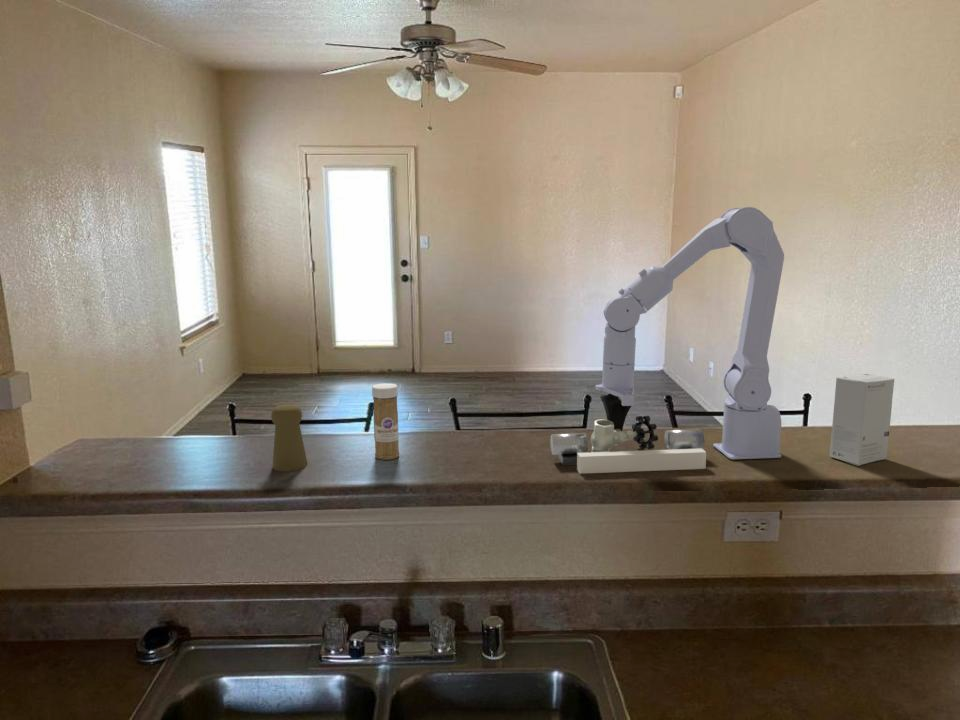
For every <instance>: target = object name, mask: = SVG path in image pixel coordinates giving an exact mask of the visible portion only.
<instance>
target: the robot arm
mask: <svg viewBox="0 0 960 720" xmlns="http://www.w3.org/2000/svg"><path fill="white" fill-rule="evenodd" d="M731 246H733V247H734V248H736V249H738V250H739V251H740V252H741V253H742V255H744V257H745V258H746V259H747V260H748V261H749V262H750V263H751V266H750V271H749V278H748V283H747V289H746V295H745V301H744V307H743V313H742V320H741V327H740V332H739V338H738V344H737V350H736V351H735V353H734V355H733V356H732V360H731V365H730V367H729V369H728V370H727V371H726V372H725V374H724V376H723V387H724V390H725V391H726V392H727V394H728V395H727V396H726V399H724V401H723V402H724V403H723V404H724V405H723V421H722V422H723V423H722V435H721V436H722V437H721V439H722V440H721V442H720V443H719V442H718V443H716V442H715V443H713V444H712V445H713V447H714V448H715V449H716V450H717V451H719V452H721V453H722V454H723V455H724V456H725V457H727V458H728V459H730V460H748V459H749V460H753V459H754V460H757V459H758V460H759V459H781V458H782V454H781V453H780V447H781V446H780V445H781V436H782V415H781V413H780V410H779V408H777V407H776V406H775V405H773V404H768V402H769V401H770V398H771V396H772V388H771V384H770V382H769V381H770V380H769V375H770V374H769V373H770V366H769V362H768V360H769V359H768V352H769V346H770V341H771V336H772V329H773V323H774V319H775V318H774V317H775V312H776V307H777V306H776V305H777V300H778V297H779V296H778V295H779V290H780V283H781V278H782V274H783V273H782V272H783V267H784V262H785V252H784V250H783V247H782V246H781V244H780V241H779V239H778V237H777V235H776V232H775V230H774V223H773V221H772V220H771V219H770V218H769V217H768V216H767V215H766V214H765V213H764V212H763V211H761V210H760V209H758V208H756V207H753V206H746V207H742V208H741V207H735V208H734V207H733V208H730V209H728V210H726V211H725V212H724V213H723V214H722V215H721V216H720V217H717V218H716V219H714V220H713V221H711V222H709V223H708V224H706V225H705V226H704V227H702V229H700V231H698V232H696V234H695V235H694V236H693V237H692V238H691V239H690V240H689V241H687V242H686V243H685V244H684V246H681V248H680V249H679V250H678V251H677V252H676V253H675V254H673V255H672V256H671V257H670V258H669V259H668V260H667V261H666V262H665V263H664V264H663V265H662V266H656V265H655V266H653V265H651V266H649V267H648V268H647V269H645V268H642V269H641V270H639V271H638V275H639V276H638V277H637V278H635V280H633V281H632V282H631V283H630V284H629V285H627V287H625V288H623V287H621V288H620V289H619V290H618V294H619V296H618V295H617V296H614V297H612V298H610V299H609V301H608V302H607V303H606V304H605V307H604V310H603V316H604V319H605V321H606V324H605V328H604V334H605V335H604V337H603V353H602V354H603V355H602V376H601V378H602V379H601V384H595V390H597V391H602V392H604V393H608V394H603V395H599V396H600V397H599V398H600V400H601V402H602V404H603V407H604V411H605V414H606V415H605V416H606V420H609V421H612V422H613V423H614V429H620V430H621V431H622V432H623V430H624V424H625V422H626V418H627V415H628V413H629V411H630V409H631V407H633V406H635V394H634V393H635V385H634V383H635V382H634V380H635V379H634V378H635V365H636V364H635V362H636V343H637V340H636V326H637V325H638V323H639V321H640V316H641V315H643V314H647V313H648V312H649V310H651V309H652V308H654V306H656V305H657V304H658V303H659V302H660V301H661V300H663V299H664V298H665V297H666V296H668V295H669V294H670V293H671V292H672V291H673V288H674V287H673V286H674V281H675V279H677V278H678V277H679V276H681V275H682V274H683V273H685V271H687V270H688V269H689V268H690V267H692V266H693V265H694V264H695V263H697V262H698V261H700V259H702V258H703V257H704V256H705V255H707V254H708V253H709V252H711V251H713V250H718V249H724V248H728V247H731Z"/></svg>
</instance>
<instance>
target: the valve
mask: <svg viewBox="0 0 960 720" xmlns="http://www.w3.org/2000/svg"><path fill="white" fill-rule="evenodd" d="M635 421H638V422H636V423H635V422H634V423H633V424H632V425H631V429H632V430H630V429H629V430H625V431H623V430H622V431H621V430H620V429H614V423H613V422H612V421H609V420H607V419H601V418H600V419H596V420H594V423H593V432H592V433H591V435H590V445H591V452H612V448H613V447H614V446H615V447H617V446H621V445H623V444H624V442H625V441H631V440H634V442H636V443H637V444H638V447H639V450H645V449H646V450H655V449H654V448H655V445H654V442H658V441H659V436H658V435H657V434H655V430H656V429H657V424H656V423H650V421H651V417H650V416H649V415H644V416H643V415H637V416H635ZM642 425H645V426H646V427H644V428H643V427H642ZM646 437H649V438H648V439H647V440H645V438H646Z"/></svg>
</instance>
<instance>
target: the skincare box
mask: <svg viewBox="0 0 960 720" xmlns="http://www.w3.org/2000/svg"><path fill="white" fill-rule="evenodd" d="M894 386H895V378H893V377H888V376H887V377H886V376H882V375H874V374H868V373H863V374H862V373H861V374H850V375H843V376H837V377H836V379H835V391H834V403H833V414H832V415H833V416H832V424H831V426H832V427H831V436H830V448H829V457H830V458H834V459H837V460H840V461H843V462H845V463H848V464H849V465H850V464H851V465H854V466H857V467H859V466H863V465H866V464H870V463H873V462H877V461H883V460H886V459H887V458H888V451H889V450H888V448H889V440H890V438H889V437H890V431H891V430H890V429H891V419H892V417H891V416H892V410H893V409H892V407H893V406H892V405H893V397H894V395H893V394H894V388H895V387H894Z"/></svg>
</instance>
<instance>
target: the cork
mask: <svg viewBox="0 0 960 720" xmlns="http://www.w3.org/2000/svg"><path fill="white" fill-rule="evenodd" d="M270 416H271V417H270V418H271V421H272V423H273V424H274V427H275V428H274V439H273V440H274V442H273V453H272V454H273V455H272V469H273V470H275V471H277V472H283V473H284V472H287V473H288V472H296V471H299V470H302V469H304V468H307V466H308V464H309V463H308V459H307V455H306V454H307V453H306V450H305V444H304V440H303V434H302V430H301V423H300V422H301V421H302V419H303V418H302V417H303V411H302V409H301V408H300V406H299V405H297V404H290V403H287V404H280V405H277V406H275V407H274V408H273V409H272V411H271V415H270Z"/></svg>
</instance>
